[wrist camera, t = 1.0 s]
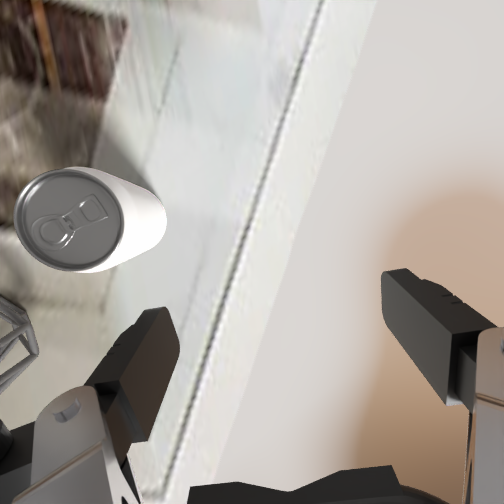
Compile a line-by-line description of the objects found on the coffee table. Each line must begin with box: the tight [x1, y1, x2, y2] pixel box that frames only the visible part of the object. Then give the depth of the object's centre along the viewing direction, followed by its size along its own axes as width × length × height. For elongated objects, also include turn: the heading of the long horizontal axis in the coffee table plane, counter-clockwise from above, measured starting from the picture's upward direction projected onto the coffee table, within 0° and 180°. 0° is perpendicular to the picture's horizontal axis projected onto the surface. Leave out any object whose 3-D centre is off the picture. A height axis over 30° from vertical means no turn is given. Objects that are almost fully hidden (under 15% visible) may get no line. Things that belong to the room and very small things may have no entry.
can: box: [14, 167, 167, 273], centre depth 21 cm, size 6×6×12 cm
